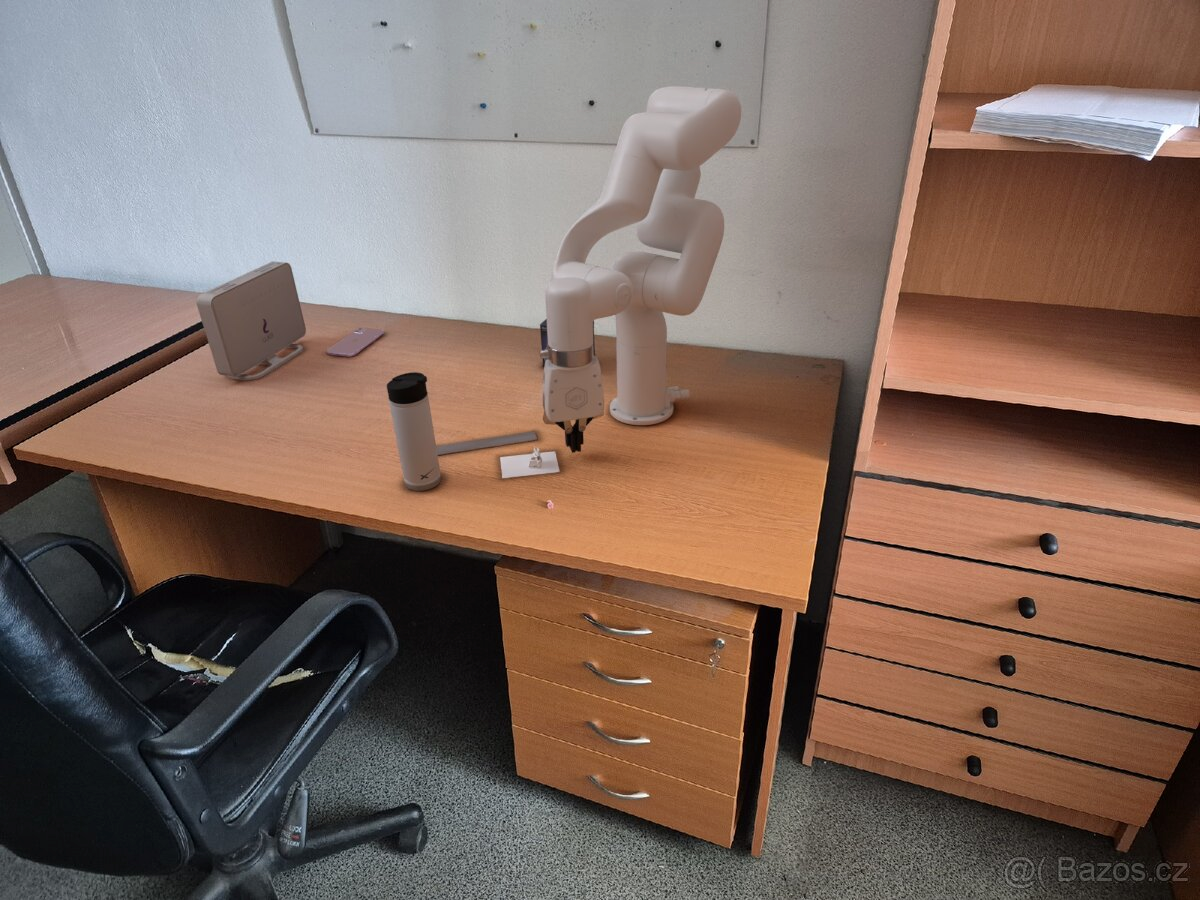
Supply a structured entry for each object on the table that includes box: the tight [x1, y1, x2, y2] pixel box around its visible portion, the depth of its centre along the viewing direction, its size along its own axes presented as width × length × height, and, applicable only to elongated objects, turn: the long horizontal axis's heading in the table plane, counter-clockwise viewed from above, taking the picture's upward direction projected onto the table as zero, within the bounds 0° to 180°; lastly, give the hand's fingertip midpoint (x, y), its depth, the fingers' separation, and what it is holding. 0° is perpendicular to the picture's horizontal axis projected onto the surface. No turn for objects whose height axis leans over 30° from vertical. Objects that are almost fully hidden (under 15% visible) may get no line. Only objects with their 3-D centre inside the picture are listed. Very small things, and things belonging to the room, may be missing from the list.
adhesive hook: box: [528, 446, 543, 468], centre depth 138 cm, size 3×3×3 cm
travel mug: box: [386, 371, 442, 492], centre depth 130 cm, size 6×7×20 cm
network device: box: [196, 261, 307, 381], centre depth 175 cm, size 26×9×20 cm, turn 161°
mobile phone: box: [325, 327, 385, 358], centre depth 187 cm, size 8×1×15 cm
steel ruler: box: [436, 430, 538, 456], centre depth 145 cm, size 20×3×1 cm, turn 105°
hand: (574, 448), depth 139 cm, fingers closed
